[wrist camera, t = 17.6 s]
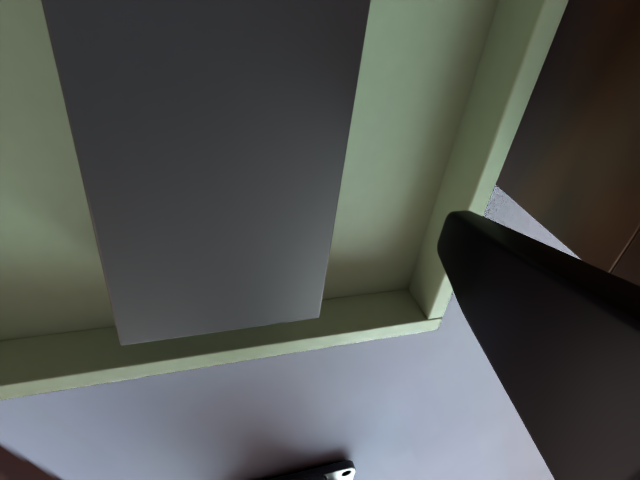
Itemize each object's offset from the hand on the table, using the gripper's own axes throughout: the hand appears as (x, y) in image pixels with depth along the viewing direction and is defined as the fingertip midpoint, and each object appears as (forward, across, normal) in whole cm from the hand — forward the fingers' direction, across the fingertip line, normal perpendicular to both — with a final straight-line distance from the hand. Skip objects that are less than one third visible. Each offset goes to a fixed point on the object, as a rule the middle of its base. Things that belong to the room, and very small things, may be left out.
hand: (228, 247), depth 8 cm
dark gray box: (+3, 0, -4) cm, 6 cm away
